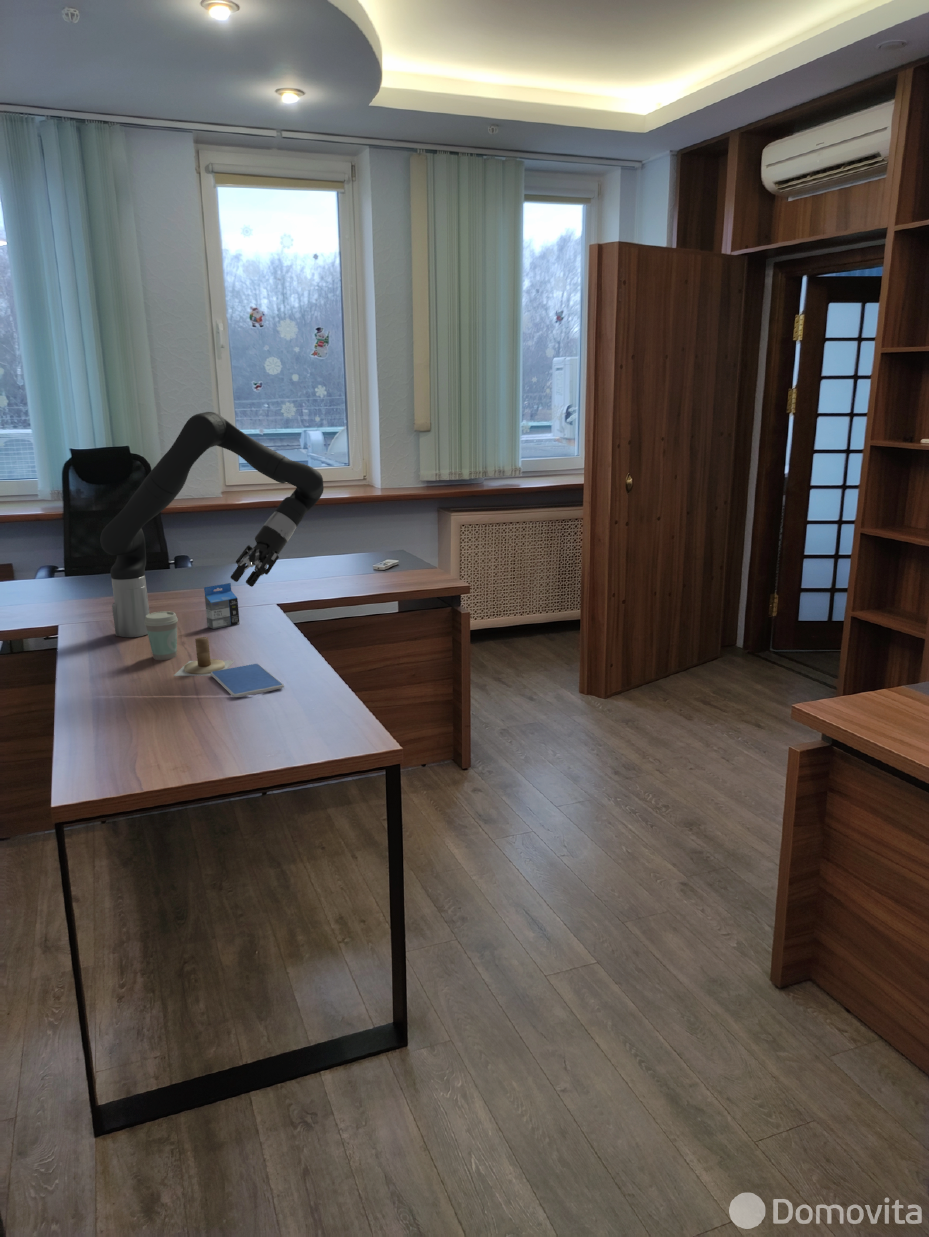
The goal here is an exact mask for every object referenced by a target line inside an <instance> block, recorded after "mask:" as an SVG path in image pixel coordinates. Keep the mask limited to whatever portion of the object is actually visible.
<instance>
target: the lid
mask: <svg viewBox="0 0 929 1237" xmlns="http://www.w3.org/2000/svg"><path fill="white" fill-rule="evenodd" d="M194 639H195V640H194V642H195V651H196V658H197V659H196V660H192V661H193V662H190V663H188V662H187V663H188V664H187V663H186V664H185V665H183V666H184V671H185V672H186V673H189V674H208V673H211V672H213V671H218V670H222V669H223V668H224V667H225V663H224V661H225V660H222V659H215V658H211V651H210V642H209V641H210V640H209V637H206V636H199V637H196V638H194Z"/></svg>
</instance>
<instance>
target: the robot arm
mask: <svg viewBox="0 0 929 1237" xmlns="http://www.w3.org/2000/svg"><path fill="white" fill-rule="evenodd" d="M216 446H217V447H219V448H222V449H225V450H227V451H230V452H232V453H234V454H236V455H237V456H239V457H240V458H241V459H242V460H244V461H245V462H246V463H247V464H248V465H249V466H251V467H252V469H254V470H256V471H258V472H259V473H261V475H264V476H266V477H268V478H269V479H271V480H274V481H275V482H277V483H279V484H289V485H292V486H293V487H296V488H295V489H294V491H292V493H291V494H290V496H286V497H285V498H283V500H282V501H281V502H280V503H279V505H278V506H277V507H276V509H275V510H274V512H273V513H272V514H271V515H270V516H269V517H268V518H267V520H266V521H265V523H264V524H263V525H262V527H261V528H260V530H259V531H258V532H257V534H256V535H255V536H254V541H255V543H256V544H255V546H254V547H252V546H251V545H250V544H248V545H247V546H246V547H245V548H244V550H243V551H242V552H241V554H240V555H239V556H238V558H237V559H236V560H235V564H236V565H237V567H236V568H235V570H234V571H233V572H232V574H231V575H230V579H231V580H232V581H234V582H235V583H238V582H239V580H240V579H241V578H242V577H243V575H244V574H245V572H246V571H247V570H248V569H250V568H253V567H254V569H253V570H252V572H251V573H250V574H249V576H248V577H247V579H245V584H247V585H248V586H249V587H252V588H253V587H254V586H255V584H256V583H257V581H259V579H260V578H261V577H262V576H264V575H268V574H269V573H270V571H271V570H272V568H273V567H274V565H275V564H276V562H277V561H278V560H279V558H280V557H279V555H280V553H281V551H282V550H283V549H284V548H285V546H286V544H287V543H288V542H289V540H290V539H291V537H292V536H293V535H294V532H295V530H296V529H297V527H298V526H299V524H300V523H301V521H302V520H303V519H304V517H305V515H306V514H307V513H308V512H309V511H310V510H311V509H312V508H313V507H314V506H315V505H316V504H317V503H318V502H319V500H320V498H321V497H322V495H323V494H324V478H323V476H322V474H321V473H320V472H319V471H318V469H316V468H314V467H312V466H310V465H308V464H305V463H302V462H299V461H295V460H292V459H290V458H288V457H286V456H285V455H283V454H281V453H280V452H278V451H275V450H273V449H272V448H269V447H268V446H266V445H264V444H262V443H260V442H259V441H257V440H255V439H254V438H252V437H250V436H249V435H247V434H246V433H245V432H243V431H242V430H240V429H239V428H238V427H236V425H234V424H232V423H231V422H230V421H229V420H227V419H226V418H224V417H223V416H221V415H220V414H219V413H216V412H213V411H205V412H200V413H197V414H193V416H191V417H190V418H189V419H188V420H187V421H186V423H185V424H184V425H183V427H182V429H181V430H180V433H179V434H178V436H177V437H176V439H175V441H174V443H173V444H172V445H171V447H170V448H169V450H167V452H166V453H165V454H164V455H163V456H162V458H161V459H160V460H159V461H158V462H157V463H156V464H155V466H154V467H153V468H152V469H151V470H150V472H149V473H148V474H147V475H146V477H144V479H143V481H142V482H141V484H140V485H139V486H138V488H137V489H136V490H135V492H134V493H133V494H132V496H131V497H130V499H129V500H128V502H127V503H126V504H125V506H124V507H123V508H122V509H121V510H120V511H119V513H117V514H116V515H115V516H114V518H112V520H110V522H109V523H107V524H106V526H104V528H103V529H102V531H101V533H100V539H99V540H100V547H101V548H102V549H103V551H104V552H105V553H107V554H109V555H111V556H116V560H115V562H114V564H113V565H112V566H111V568H110V570H109V571H110V578H111V586H112V593H113V601H114V603H112V604H111V609H112V616H113V625H114V626H113V627H114V633H115V634H114V635H115V637H121V638H137V637H143V636H145V635H147V636H148V633H147V629H146V625H145V624H144V623H145V622H144V621H145V617H146V615H148V614H150V606H149V597H148V590H147V588H148V587H147V581H146V573H145V572H146V570H145V569H146V567H147V552H146V548H147V547H146V539H145V533H144V531H143V529H142V528H143V527H144V526H145V525H146V524H147V523H148V522H149V521H151V520H152V519H153V518H155V517H156V516H158V514H160V513H161V512H163V511H164V510H165V509H167V507H169V505H170V504H171V503H172V502H173V501H174V500H175V498H176V497H177V496H178V495H179V493H180V492H181V491H182V489H183V487H184V486H185V484H186V481H187V480H188V477H189V473H190V471H191V469H192V467H193V466H194V464H195V463H196V462H197V460H199V458H200V457H201V456H202V455H203V454H204V453H205V452H207V451H208V450H209V449H210V448H213V447H216Z"/></svg>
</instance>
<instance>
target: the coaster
mask: <svg viewBox="0 0 929 1237" xmlns="http://www.w3.org/2000/svg"><path fill="white" fill-rule="evenodd" d="M193 661H194V660H189V661H187V663H186V664H188V663H190V662H193ZM223 661H224V663H225V667H224V668H223V669H222V670H224V669H229V668H230V667H231V665H233V663H234V662H235V660H223ZM184 666H185V665H183V666H182V667H181V668H180V669H179V670H177V672H176V673H174V674H173V677H197V676H198V677H201V676H202V677H206V676H207V677H209V676H210V677H212V676H211V675H210V674H211V673H208V674H189V673H186V672H185V671H184Z"/></svg>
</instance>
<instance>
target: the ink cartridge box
mask: <svg viewBox="0 0 929 1237" xmlns="http://www.w3.org/2000/svg"><path fill="white" fill-rule="evenodd" d="M217 589H220V590H217ZM203 591H204V601H205V603H204V604H205V605H204V606H205V614H206V626H207V628H210V629H212V630H215V629H221V628H224V627H225V628H226V627H230V626H231V627H232V626H235V625H240V622H241V621H240V612H239V601H238V600H239V599H238V597H237V596H236V594H235V593H234V592H233V591H232V586H231V582H229V583H222V584H216V585H215V584H214V585H210V586H205V587H203Z"/></svg>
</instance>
